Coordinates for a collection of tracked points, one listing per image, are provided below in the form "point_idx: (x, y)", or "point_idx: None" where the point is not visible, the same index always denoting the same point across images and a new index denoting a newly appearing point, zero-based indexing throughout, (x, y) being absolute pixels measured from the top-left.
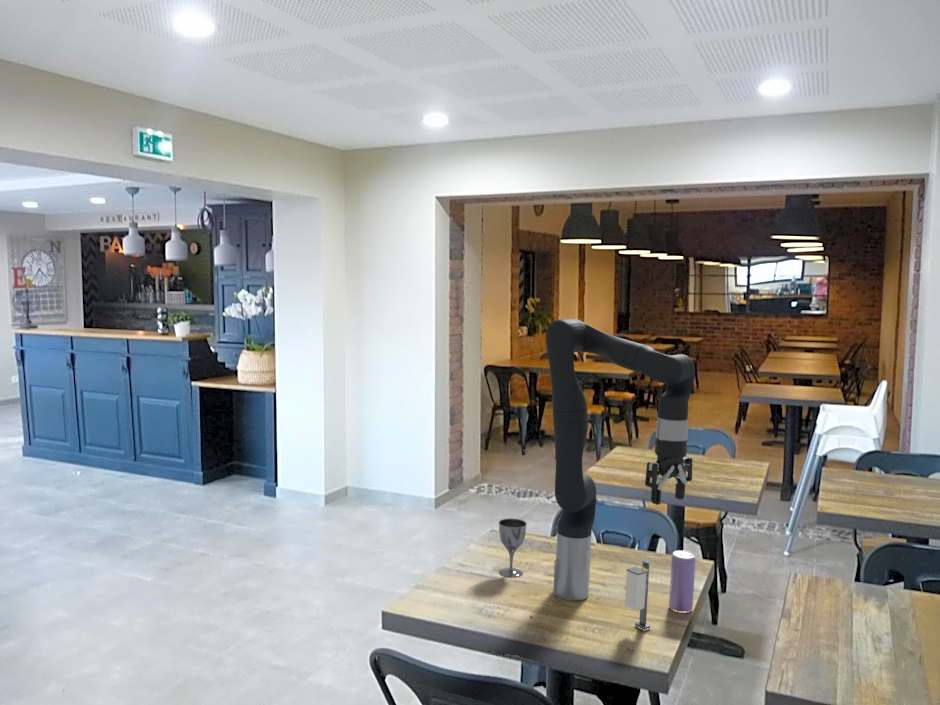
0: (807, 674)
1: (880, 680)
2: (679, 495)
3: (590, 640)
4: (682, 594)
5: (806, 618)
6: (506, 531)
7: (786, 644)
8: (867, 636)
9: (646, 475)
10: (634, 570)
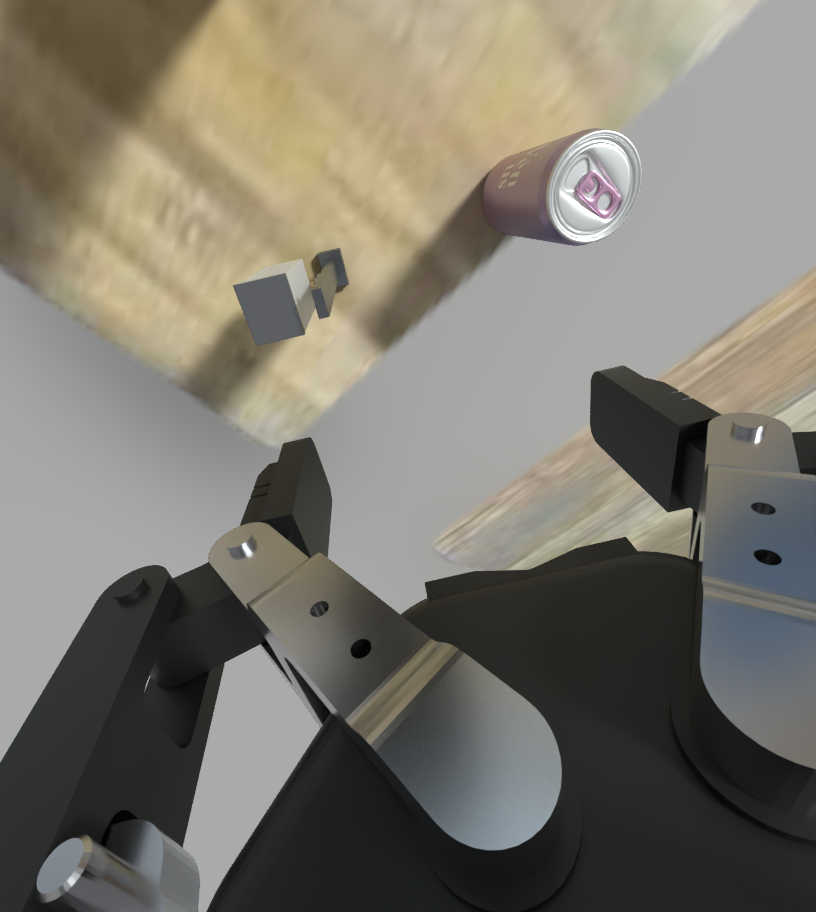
0: (521, 521)
1: None
2: (608, 423)
3: (156, 285)
4: (509, 230)
5: (742, 356)
6: None
7: (586, 436)
8: None
9: (33, 731)
10: (260, 309)
